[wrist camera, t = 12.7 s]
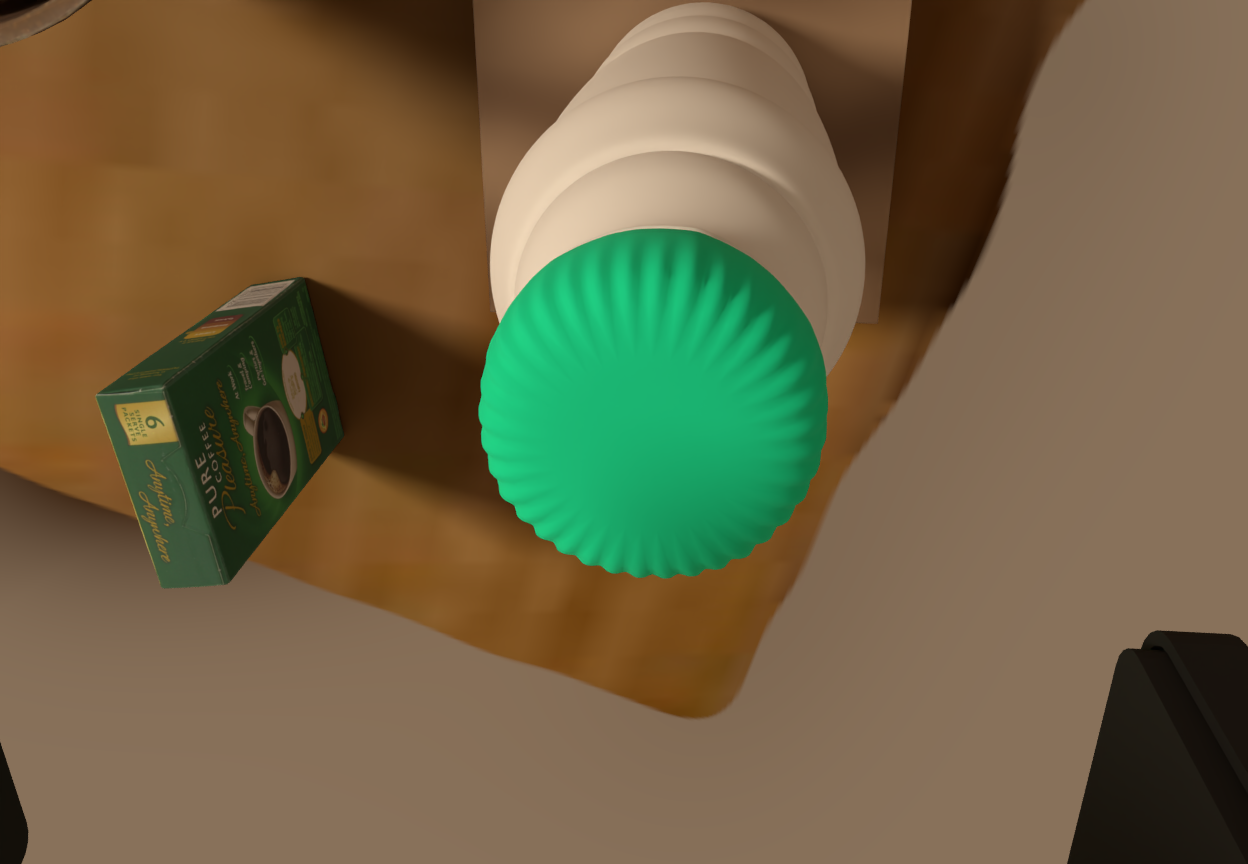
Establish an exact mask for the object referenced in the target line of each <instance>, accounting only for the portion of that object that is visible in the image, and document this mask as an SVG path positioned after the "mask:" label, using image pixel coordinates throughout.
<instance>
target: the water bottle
mask: <svg viewBox="0 0 1248 864" xmlns="http://www.w3.org/2000/svg"><path fill="white" fill-rule="evenodd" d="M490 277H491V287H492V294H493V300H494V304H495V309H496V313H497V316H498V320H499V323H500V324H499V326H498V328H497V330H496V332H495V334H494V336H493V338H492V340H491V342H490V344H489V348H488V351H487V355H486V364H485V368H484V372H483V375H482V378H481V394H482V396H481V400H480V404H479V420H480V422H481V424H482V431H481V442H482V446H483V448H484V450H485V451H486V453H487V454H488V463H489V470H490V473H491V474H492V475H493V476H494V477H495V478H496V479H497V480H498V485H499V493H500V495H501V497H502V498H503V499H504V500H505V501H507V502H509V503H511V504H513V505H514V506H515V509H516V513H517V516H518V517H519V519H521V520H522V521H524V522H527V523H530V524H532V525H533V526H534V529H535V533H536V535H537V536H538V537H540V538H542V539H544V540H549V541H552V542H554V544H555V545H556V548H557V550H558V551H560V552H561V553H564V554H569V555H576V556H577V557H578V558H579V559H580V561H581V562H582V563H583V564H586V565H589V566H594V565H600V566H602V567H603V568H604V569H605V570H606V571H608V572H610V573H616V574H617V573H621V572H628V573H630V574H631V575H633V576H634V577H638V578H643V577H646V576H648V575H651V574H653V575H656V576H658V577H660V578H671V577H673V576H674V575H676V574H683V575H686V576H697V575H699V574H700V573H701V572H702V571H703V570H704V569H714V570H717V569H722V568H724V567H725V566H726V565H727V563H728V562H729V561H730V560H731V559H741V558H745V557H747V556H749V555H750V553H751V552H752V550H753V548H754V546H755V545H756V544H760V543H764V542H766V541H768V540H769V539H770V538H771V537H772V535H773V533H774V531H775V529H776V527H777V526H780V525H783V524H785V523H786V522H787V521H788V520H789V519H790V517H791V515H792V513H793V510H794V508H795V505H797V504H799V503H800V502H801V501H803V499H804V498H805V496H806V494H807V491H808V489H809V484H810V480H811V479H812V478H813V477H814V476H815V474H816V472H817V470H818V468H819V465H820V457H821V449H822V447H823V445H824V443H825V440H826V430H827V412H828V394H827V387H826V377H827V376H828V374H829V373H830V372H831V370H832V369H833V367H834V366H835V364H836V363H837V361H838V359H839V358H840V356H841V354H842V352H843V351H844V349H845V347H846V345H847V343H848V340H849V338H850V336H851V333H852V331H853V328H854V325H855V323H856V320H857V316H858V313H859V309H860V305H861V301H862V295H863V288H864V280H865V247H864V238H863V232H862V226H861V221H860V217H859V213H858V210H857V207H856V204H855V201H854V198H853V196H852V193H851V191H850V188H849V186H848V184H847V182H846V180H845V178H844V176H843V174H842V172H841V170H840V169H839V167H838V164H837V161H836V157H835V154H834V151H833V148H832V146H831V143H830V140H829V137H828V135H827V132H826V130H825V128H824V126H823V123H822V121H821V119H820V117H819V115H818V113H817V111H816V107H815V103H814V100H813V97H812V95H811V92H810V90H809V88H808V84H807V81H806V78H805V75H804V72H803V70H802V67H801V65H800V63H799V61H798V59H797V58H796V56H795V54H794V52H793V51H792V49H791V48H790V47H789V45H788V44H787V43H786V41H785V40H784V39H783V38H782V37H781V36H780V35H779V34H778V33H777V32H776V31H775V30H774V29H773V28H772V27H771V26H769V25H768V24H767V23H766V22H764V21H763V20H761V19H759V18H758V17H756V16H754V15H752V14H751V13H749V12H746V11H744V10H741V9H739V8H736V7H733V6H729V5H724V4H718V3H710V2H700V3H688V4H683V5H678V6H674V7H671V8H668V9H665V10H663V11H661V12H658V13H656V14H654V15H652V16H650V17H649V18H647V19H645V20H644V21H642V22H641V23H639V24H638V25H637V26H635V27H634V28H633V29H632V30H631V31H630V32H629V33H628V34H627V35H626V36H625V37H624V38H623V39H622V40H621V41H620V42H619V43H618V44H617V46H616V47H615V48H614V50H613V51H612V52H611V54H610V55H609V57H608V58H607V59H606V60H605V61H604V62H603V64H602V65H601V66H600V68H599V69H598V70H597V72H596V73H595V75H594V76H593V77H592V78H591V79H590V80H589V81H588V82H587V83H586V85H585V86H584V87H583V88H582V89H581V90H580V91H579V92H578V93H577V94H576V96H575V97H574V98H573V99H572V101H571V102H570V103H569V104H568V106H567V107H566V108H565V110H564V111H563V112H562V114H561V115H560V116H559V118H558V119H557V121H556V122H555V123H554V124H553V125H552V126H550V127H549V128H548V129H547V130H546V131H545V132H544V133H543V134H542V135H541V137H540V138H539V139H538V140H537V141H536V142H535V143H534V144H533V146H532V147H531V148H530V149H529V151H528V152H527V153H526V155H525V156H524V157H523V159H522V160H521V162H520V163H519V165H518V167H517V168H516V170H515V172H514V174H513V175H512V177H511V179H510V181H509V183H508V185H507V188H506V190H505V192H504V195H503V197H502V200H501V202H500V205H499V208H498V212H497V215H496V219H495V224H494V228H493V234H492V240H491V251H490Z"/></svg>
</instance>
